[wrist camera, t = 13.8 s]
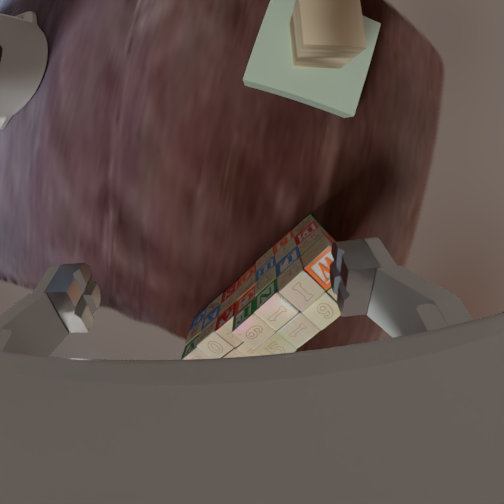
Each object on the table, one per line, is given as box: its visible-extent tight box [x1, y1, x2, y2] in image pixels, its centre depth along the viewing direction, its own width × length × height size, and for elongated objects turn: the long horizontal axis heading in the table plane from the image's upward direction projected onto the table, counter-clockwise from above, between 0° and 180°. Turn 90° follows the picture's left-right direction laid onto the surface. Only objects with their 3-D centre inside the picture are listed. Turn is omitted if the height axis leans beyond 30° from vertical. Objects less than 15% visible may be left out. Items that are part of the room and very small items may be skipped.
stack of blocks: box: [181, 214, 341, 360], centre depth 36 cm, size 21×6×12 cm, turn 135°
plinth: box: [243, 0, 381, 118], centre depth 30 cm, size 12×12×4 cm
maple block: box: [289, 0, 366, 69], centre depth 24 cm, size 5×5×9 cm
